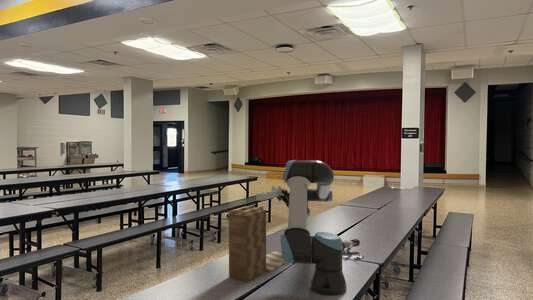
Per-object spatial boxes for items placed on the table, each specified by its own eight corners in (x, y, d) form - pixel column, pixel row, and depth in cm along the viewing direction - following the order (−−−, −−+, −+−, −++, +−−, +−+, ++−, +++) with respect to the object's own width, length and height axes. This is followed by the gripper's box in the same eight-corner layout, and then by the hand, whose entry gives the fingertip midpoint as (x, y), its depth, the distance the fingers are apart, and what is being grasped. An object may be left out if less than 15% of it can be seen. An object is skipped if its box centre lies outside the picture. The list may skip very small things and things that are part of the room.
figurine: (303, 242, 212) (349, 231, 220) (304, 254, 212) (350, 243, 220) (318, 254, 190) (369, 241, 198) (320, 267, 191) (370, 254, 198)
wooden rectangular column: (249, 267, 183) (249, 204, 182) (266, 271, 177) (266, 206, 176) (229, 277, 170) (228, 210, 169) (246, 282, 164) (245, 212, 163)
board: (275, 252, 206) (275, 250, 206) (296, 256, 198) (296, 255, 198) (247, 265, 185) (247, 263, 185) (270, 271, 177) (270, 269, 177)
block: (281, 193, 200) (281, 188, 200) (286, 194, 199) (286, 188, 199) (256, 200, 180) (256, 194, 180) (261, 200, 179) (261, 194, 179)
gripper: (305, 212, 203) (286, 196, 186) (280, 209, 212) (260, 193, 195) (308, 199, 206) (290, 182, 189) (284, 197, 215) (264, 180, 198)
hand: (275, 188), depth 192 cm, fingers closed on block, 3 cm apart
